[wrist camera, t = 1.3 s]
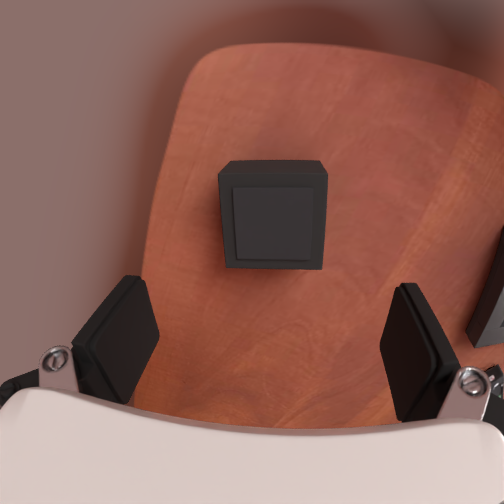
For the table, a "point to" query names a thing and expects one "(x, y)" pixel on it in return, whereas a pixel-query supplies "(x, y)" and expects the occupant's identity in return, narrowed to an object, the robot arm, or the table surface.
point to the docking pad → (490, 307)
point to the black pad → (273, 213)
